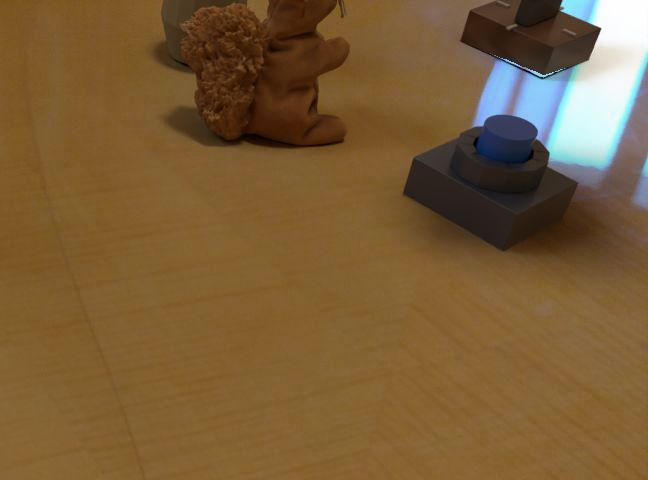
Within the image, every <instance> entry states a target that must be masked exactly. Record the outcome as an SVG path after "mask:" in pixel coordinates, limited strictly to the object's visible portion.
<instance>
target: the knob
mask: <svg viewBox="0 0 648 480" xmlns="http://www.w3.org/2000/svg"><path fill="white" fill-rule="evenodd" d="M563 1H564V0H521V2H520V5H519V8H518V11H517V14H516V17H515V20H514V21H515V22H517V23H520V24H522V25H524V26H527V27H528V26H531V25H533V24H536V23H539V22H541V21H544V20H546V19H549V18H552V17H554V16H557V14H558V12H559V9H560V7H561V5H562V3H563Z"/></svg>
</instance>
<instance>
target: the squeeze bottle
mask: <svg viewBox="0 0 648 480" xmlns="http://www.w3.org/2000/svg"><path fill="white" fill-rule="evenodd" d="M232 3H236V4H238V3H240V4H241V3H242V4H245V5H246V7H247V8H248V0H162V4H161V10H160V17H161V21H162V26H163V30H164V35H165V40H166V44H167V49H168V53H169V54H170V56H171V57H172V58H173V59H175V61H178V62H180V63H183V64H184V65H185V64H186V65H188V64H187V63H186V62H185V59H183V57H182V56H183V55H182V53H181V51H182V45H181V44H180V43H179V42H182V39H184V37H188V34H186V33H185V32H184V31H183V29H182V28H181V27H180V25H179V23H182V24H183V23H185V22H186V21H189V19H191V16H192V17H193V18H194V17H196V16H195V15H194V13H195V12H197V11H198V10H199V9H200V8H202V7H203V8H206V7H208V8H209V7H212V6H215V7H220V8H225V7H226V6H228V5H229V6H230V5H231V4H232Z"/></svg>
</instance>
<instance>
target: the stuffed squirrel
mask: <svg viewBox="0 0 648 480" xmlns="http://www.w3.org/2000/svg"><path fill="white" fill-rule="evenodd" d="M267 1H268V6H267V9H266V18H265V19H264V20H263V21H262V22H261V21H260V18H259V17H257V15H256V13H255V12H254V11H253V10H250V7H249V6H247V7H246V5H245V4H242V3H241V4H240V3H238V4H236V3H232V4H231V5H230V6H229V5H228V6H226V7H225V8H220V7H215V6H212V7H209V8H208V7H206V8H203V7H202V8H200V9H199V10H198V11H197V12H195V13H194V15H195V16H196V17H194V18H193V17H192V16H191V19H189V21H186V22H185V23H183V24H182V23H179V25H180V27H181V28H182V29H183V31H184V32H185V33H186V34H188V37H184V39H182V42H179V43H180V44H181V45H182V51H181V53H182V55H183V56H182V57H183V59H185V62H186V63H187V64H186V65H187V66H188V67H189V68H191V70H192V72H193V73H194V74H195V80H196V87H197V89H196V90H194V95H193V98H194V103H195V105H196V107H197V111H198V115H199V116H200V117H201V121H203V122H204V125H206V126H207V128H209V129H210V131H211V132H213V133H214V134H215V135H216V136H219V137H221V138H222V139H224V140H225V141H234V140H237V139H239V138H240V137H241V136H242V135H246V134H247V135H253V134H255V135H258V136H260V137H263V138H264V139H268V140H271V141H276V142H281V143H284V144H285V143H286V144H291V145H294V146H304V147H305V146H315V145H324V144H330V143H331V144H332V143H338V142H341V141H343V140H344V139H345V137H346V136H347V133H348V127H347V126H348V125H346V122H345V121H344V120H343V119H342V118H341V117H340V116H338V115H334V114H328V113H321V114H320V113H319V112H318V104H319V93H320V88H319V87H320V85H319V80H318V78H319V77H320V76H322V75H324V74H327V73H328V72H332V71H334V70H337V69H338V68H340V67H341V66H343V65H344V63H345V62H346V61H347V59H348V57H349V54H350V49H351V45H350V43H349V42H348V41H347V40H346V39H345V37H343V36H337V37H334V38H331V39H327V40H325V36H324V35H323V34H322V33H321V32H320V31H318V29H317V28H318V25H319V24H320V23H322V21H323V20H324V19H326V18H327V17H328V16H329V15H330V14H331V13H332V12H333V11H334V10H335V9H336V7H337V6H339V9H340V18H341V19H344V18H345V16H348V10H347V7H346V3H345V0H267ZM337 4H338V5H337Z"/></svg>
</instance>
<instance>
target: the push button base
mask: <svg viewBox="0 0 648 480" xmlns="http://www.w3.org/2000/svg"><path fill="white" fill-rule="evenodd" d="M482 128H483V125H479V126H473V127H471V128H469V129H466V130H464V131H462V132H460V133H459V135H458V137H456V138H453V139H451V140H448V141H447V142H445V143H443V144H440V145H438V146H435V147H434V148H431V149H429V150H426V151H424V152H422V153H420V154H418V155H415V156H413V158H412V162H411V165H410V168H409V171H408V175H407V178H406V181H405V185H404V188H403V191H402V194H403V195H404V196H407V197H409V198H411V199H412V200H413V201H416V202H417V203H419V204H421V205H422V206H424V207H426V208H427V209H429V210H431V211H432V212H434V213H436V214H438V215H439V216H442V217H443V218H444V219H447V220H448V221H450V222H452V223H453V224H455V225H457V226H458V227H461V228H462V229H463V230H465V231H467V232H469V233H470V234H472V235H474V236H476V237H477V238H479V239H481V240H482V241H484V242H486V243H488V244H490V245H491V246H493V247H495V248H496V249H498V250H500V251H502V252H504V251H506V250H508V249H509V248H511V247H513V246H515V245H516V244H517V245H518V243H521V242H522V241H524V240H527V239H528V238H530V237H532V236H533V235H536V234H537V233H539V232H541V231H543V230H544V229H547V228H548V227H550V226H552V225H554V224H556V223H558V222H560V221H561V220H563V219H564V217H565V215H566V213H567V211H568V208H569V205H570V204H571V202H572V199H573V197H574V194H575V192H576V190H577V188H578V186H579V182H578V181H576V180H575V179H572V178H570V177H568V176H567V175H565V174H563V173H560V172H559V171H557V170H555V169H553V168H551V167H549V166H548V165H549V160H550V155H551V152H550V150H549V149H547V147H546V146H545V145H544V144H543V143H542V141H541V140H539V139H538V138H536V140H535V142H534V145H533V147H532V150H531V153H530V155H529V158H528V160H527V161H526V162H524V163H504V162H499V161H495V160H491V159H489V158H487V157H486V156H484V155H482V154H480V153H479V152H478V151H477V150H476V145H477V142H478V139H479V136H480V133H481V131H482Z"/></svg>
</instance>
